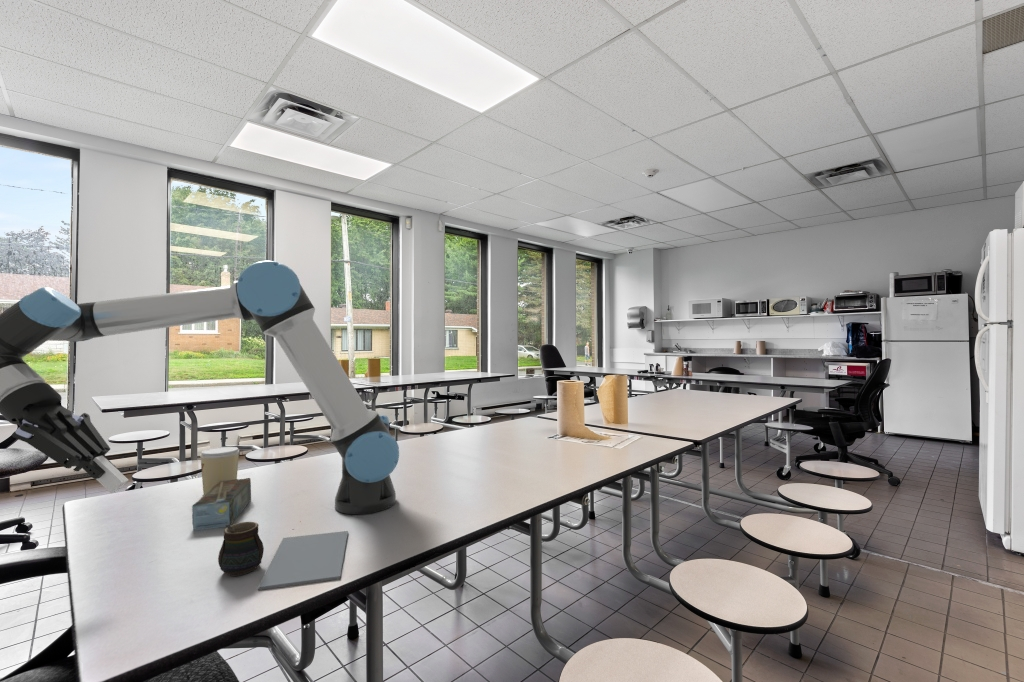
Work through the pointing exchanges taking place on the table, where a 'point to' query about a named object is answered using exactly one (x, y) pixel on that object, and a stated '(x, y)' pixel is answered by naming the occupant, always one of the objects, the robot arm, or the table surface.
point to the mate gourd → (240, 549)
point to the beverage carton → (221, 504)
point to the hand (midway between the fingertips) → (120, 486)
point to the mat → (306, 560)
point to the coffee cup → (218, 466)
